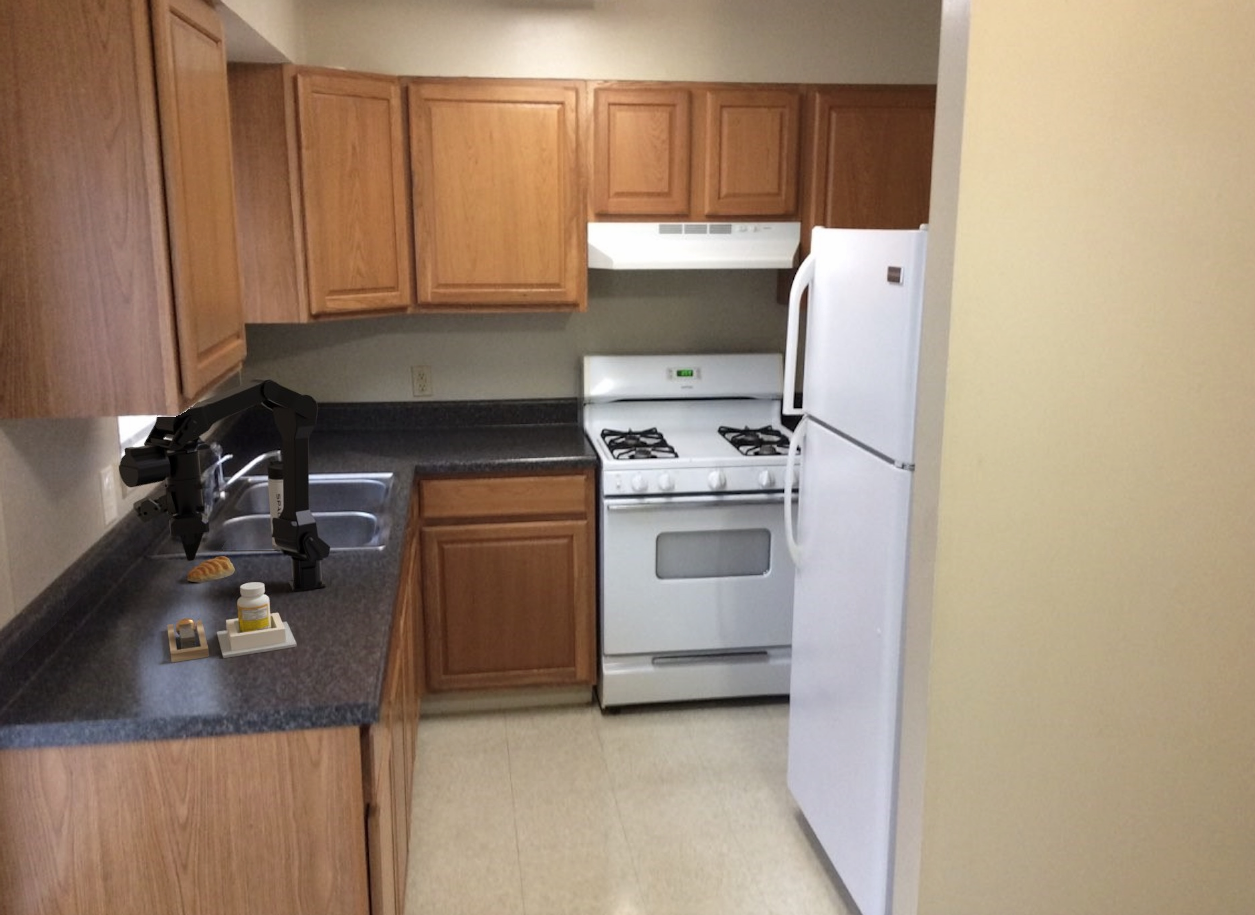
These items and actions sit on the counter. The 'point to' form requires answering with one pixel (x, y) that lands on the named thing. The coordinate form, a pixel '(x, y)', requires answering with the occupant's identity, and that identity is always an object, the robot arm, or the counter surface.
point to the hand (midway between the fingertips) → (190, 560)
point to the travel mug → (275, 492)
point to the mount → (189, 652)
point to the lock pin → (186, 633)
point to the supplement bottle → (253, 608)
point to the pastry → (211, 570)
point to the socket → (255, 638)
